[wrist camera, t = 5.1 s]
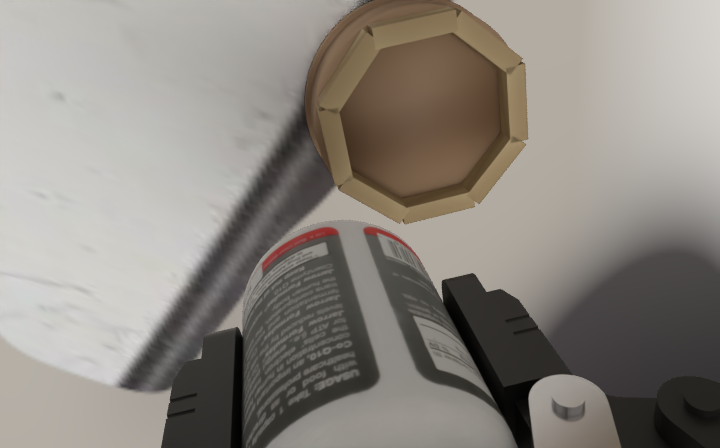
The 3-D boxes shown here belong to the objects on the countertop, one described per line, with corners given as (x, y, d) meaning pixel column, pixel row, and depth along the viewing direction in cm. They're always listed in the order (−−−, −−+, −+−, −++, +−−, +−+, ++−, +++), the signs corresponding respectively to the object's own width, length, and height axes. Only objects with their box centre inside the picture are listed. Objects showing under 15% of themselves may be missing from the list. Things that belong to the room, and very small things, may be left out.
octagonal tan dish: (281, 18, 24) (286, 33, 21) (494, -29, 25) (534, -23, 21) (328, 212, 29) (338, 250, 25) (506, 168, 29) (540, 200, 26)
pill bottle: (243, 372, 15) (235, 789, 8) (242, 214, 13) (229, 580, 6) (414, 363, 16) (551, 731, 9) (438, 214, 14) (648, 531, 6)
